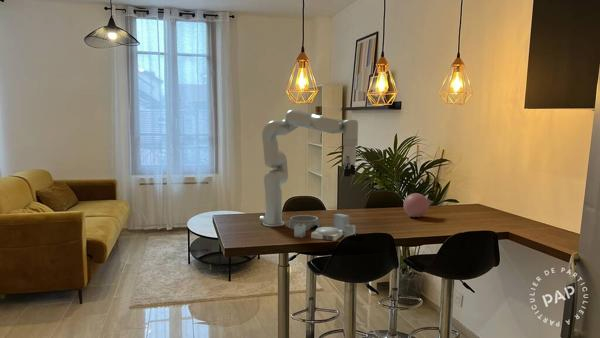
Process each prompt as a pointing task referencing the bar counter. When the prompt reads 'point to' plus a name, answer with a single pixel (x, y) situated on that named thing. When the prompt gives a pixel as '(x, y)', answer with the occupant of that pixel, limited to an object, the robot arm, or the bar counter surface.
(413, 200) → the piggy bank
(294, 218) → the dog bowl
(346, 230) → the spacer
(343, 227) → the medicine box
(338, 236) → the scale
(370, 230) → the bar counter surface
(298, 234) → the grey block with knob
